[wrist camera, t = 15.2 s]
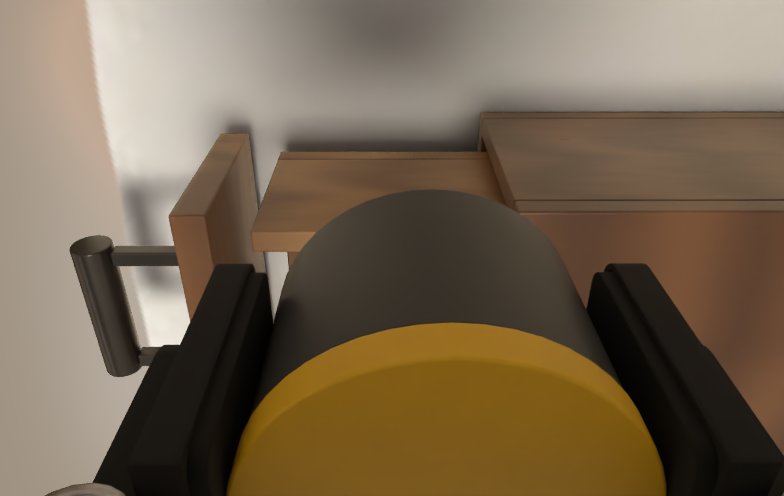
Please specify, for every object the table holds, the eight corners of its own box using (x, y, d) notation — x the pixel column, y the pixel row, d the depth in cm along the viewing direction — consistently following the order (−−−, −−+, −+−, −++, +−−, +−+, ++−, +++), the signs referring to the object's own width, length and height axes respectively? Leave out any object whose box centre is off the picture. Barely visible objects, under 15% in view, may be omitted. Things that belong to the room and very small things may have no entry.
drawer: (154, 344, 32) (98, 460, 26) (101, 133, 26) (11, 216, 20) (515, 344, 32) (545, 458, 26) (543, 132, 26) (591, 215, 20)
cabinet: (462, 341, 33) (485, 487, 25) (480, 111, 27) (518, 211, 19) (737, 341, 33) (844, 486, 25) (822, 111, 27) (1001, 211, 19)
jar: (262, 184, 9) (191, 358, 6) (599, 185, 9) (721, 357, 6) (288, 426, 12) (249, 647, 9) (553, 426, 12) (621, 644, 9)
